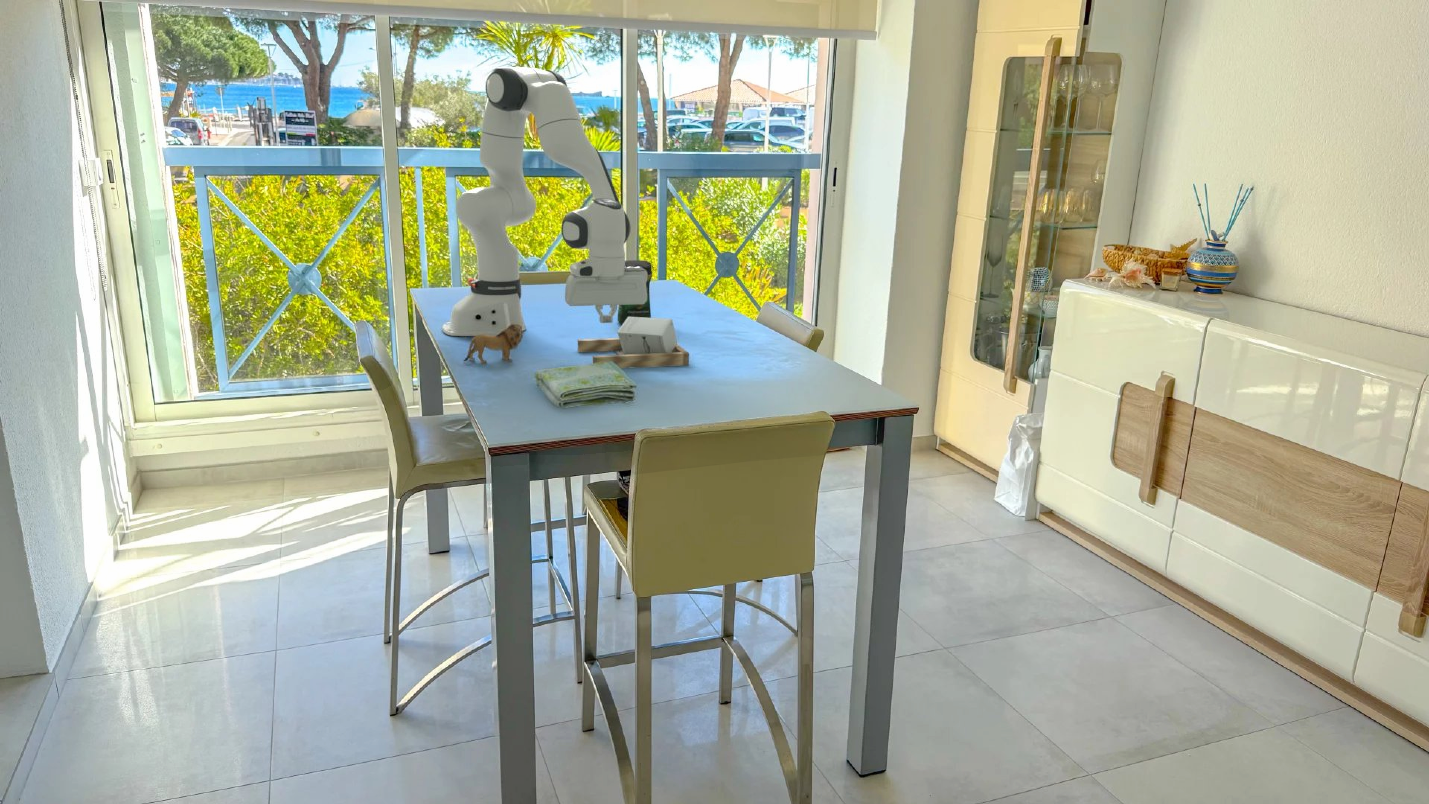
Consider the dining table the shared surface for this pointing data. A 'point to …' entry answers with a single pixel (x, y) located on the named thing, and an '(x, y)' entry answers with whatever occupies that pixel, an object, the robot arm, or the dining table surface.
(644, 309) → the coffee jar
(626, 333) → the supplement box
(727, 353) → the dining table surface
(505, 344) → the lion figurine
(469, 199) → the robot arm
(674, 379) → the dining table surface
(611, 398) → the towel
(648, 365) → the corral
